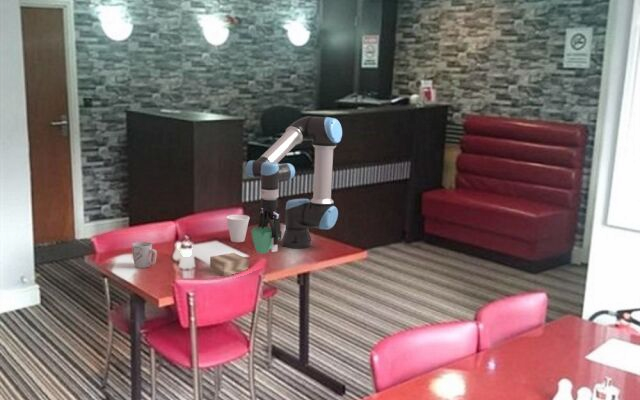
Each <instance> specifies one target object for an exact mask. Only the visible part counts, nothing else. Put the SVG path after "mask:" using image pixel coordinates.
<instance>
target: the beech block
mask: <svg viewBox="0 0 640 400" xmlns="http://www.w3.org/2000/svg"><path fill="white" fill-rule="evenodd" d="M209 269H210V270H211V271H213V272H215V273H217V274H219V275H221V276H223V277H228V276H227V275H229V276H232V275H231V274H234V275H236V274H235V273H238V272H241V271H244V270H246V269H248V270H249V258H246V257H244V256H242V255H241V254H240V255H239V254H237V253H235V252H232V253H226V254H219V255H213V256H210V257H209Z"/></svg>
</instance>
